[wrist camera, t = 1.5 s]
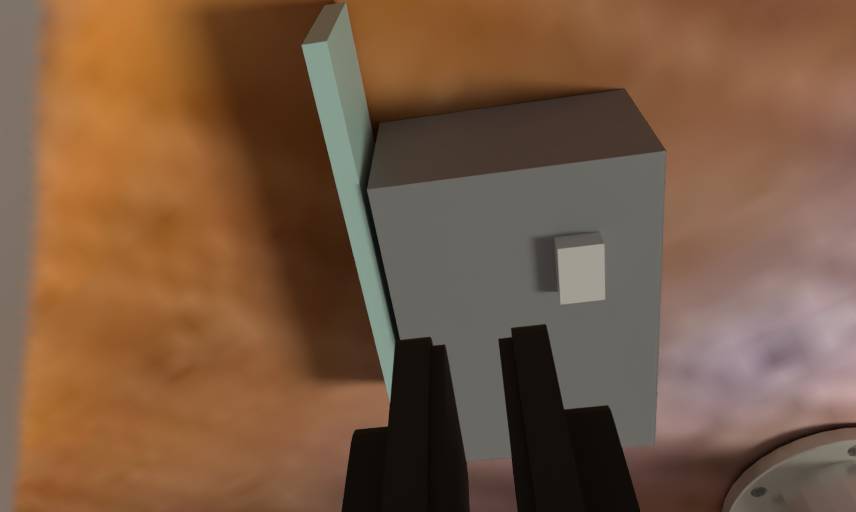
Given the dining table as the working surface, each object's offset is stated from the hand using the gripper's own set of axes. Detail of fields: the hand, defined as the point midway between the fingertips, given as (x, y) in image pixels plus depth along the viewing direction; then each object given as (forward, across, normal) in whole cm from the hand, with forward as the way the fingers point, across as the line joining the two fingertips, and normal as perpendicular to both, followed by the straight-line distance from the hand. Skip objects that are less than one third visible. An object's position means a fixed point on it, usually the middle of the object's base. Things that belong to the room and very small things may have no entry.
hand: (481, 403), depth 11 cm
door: (+19, +4, +7) cm, 20 cm away
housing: (+19, -2, +10) cm, 21 cm away
